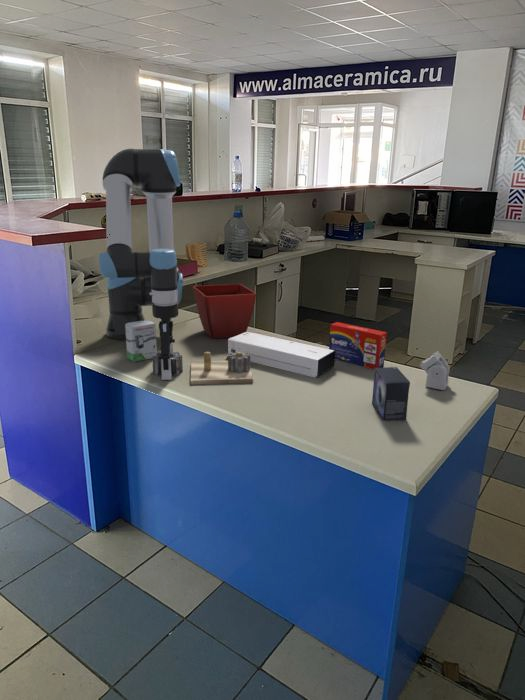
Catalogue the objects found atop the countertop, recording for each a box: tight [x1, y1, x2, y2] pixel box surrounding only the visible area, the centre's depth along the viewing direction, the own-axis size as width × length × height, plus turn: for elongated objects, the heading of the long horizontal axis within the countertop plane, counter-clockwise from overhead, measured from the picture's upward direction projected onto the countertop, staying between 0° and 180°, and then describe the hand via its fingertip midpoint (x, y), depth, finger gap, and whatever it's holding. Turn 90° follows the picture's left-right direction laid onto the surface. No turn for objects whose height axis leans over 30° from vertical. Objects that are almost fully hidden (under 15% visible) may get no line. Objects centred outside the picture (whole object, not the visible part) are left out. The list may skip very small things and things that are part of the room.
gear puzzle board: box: [190, 351, 254, 385], centre depth 159 cm, size 16×18×7 cm
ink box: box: [125, 319, 158, 363], centre depth 171 cm, size 9×5×12 cm, turn 129°
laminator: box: [227, 331, 336, 379], centre depth 170 cm, size 34×12×6 cm, turn 56°
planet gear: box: [151, 351, 184, 377], centre depth 161 cm, size 9×9×5 cm
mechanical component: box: [419, 351, 450, 391], centre depth 153 cm, size 5×8×10 cm
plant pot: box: [192, 283, 257, 339], centre depth 198 cm, size 19×19×17 cm
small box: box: [371, 366, 411, 421], centre depth 135 cm, size 11×6×10 cm, turn 5°
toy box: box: [328, 321, 388, 371], centre depth 170 cm, size 18×4×12 cm, turn 52°
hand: (168, 371), depth 161 cm, fingers open, 13 cm apart
